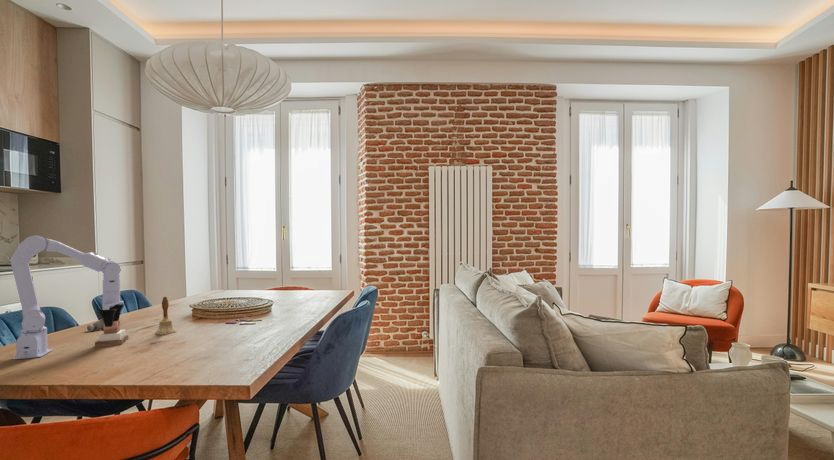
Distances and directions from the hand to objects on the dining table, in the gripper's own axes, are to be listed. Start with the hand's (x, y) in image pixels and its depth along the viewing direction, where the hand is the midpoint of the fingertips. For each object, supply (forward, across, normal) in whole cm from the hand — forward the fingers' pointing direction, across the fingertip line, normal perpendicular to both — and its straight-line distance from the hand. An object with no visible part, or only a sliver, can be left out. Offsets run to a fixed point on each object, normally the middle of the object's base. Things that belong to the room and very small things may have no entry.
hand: (112, 324), depth 170 cm
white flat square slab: (+6, 0, 0) cm, 6 cm away
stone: (+8, +30, +12) cm, 34 cm away
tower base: (+8, 0, 0) cm, 8 cm away
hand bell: (+8, +11, -17) cm, 22 cm away
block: (+3, 0, 0) cm, 3 cm away
